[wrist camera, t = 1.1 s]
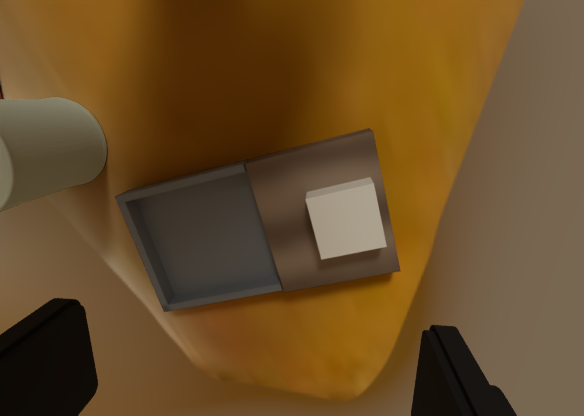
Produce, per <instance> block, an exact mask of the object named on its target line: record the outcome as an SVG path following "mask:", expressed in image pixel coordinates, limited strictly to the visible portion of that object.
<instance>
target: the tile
mask: <svg viewBox="0 0 584 416" xmlns="http://www.w3.org/2000/svg"><path fill="white" fill-rule="evenodd" d="M306 203H307V207H308V211H309V215H310V218H311V222H312V226H313V230H314V233H315V237H316V241H317V245H318V249H319V252H320V256H321V260H322V259H327V258H332V257H337V256H342V255H347V254H353V253H358V252H363V251H368V250H373V249H378V248H383V247H387V245H386V241H385V236H384V231H383V226H382V221H381V216H380V211H379V206H378V201H377V196H376V192H375V187H374V183H373V181H372V179H371V177H369V178H365V179H361V180H356V181H352V182H348V183H343V184H339V185H335V186H330V187H326V188H322V189H318V190H313V191H309V192H307V194H306Z"/></svg>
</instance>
